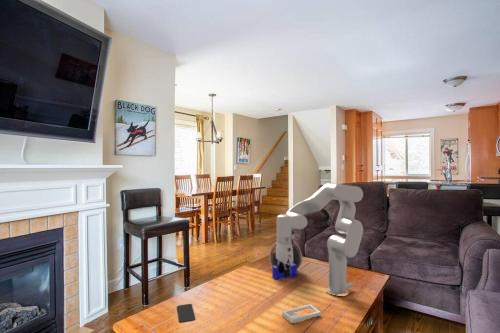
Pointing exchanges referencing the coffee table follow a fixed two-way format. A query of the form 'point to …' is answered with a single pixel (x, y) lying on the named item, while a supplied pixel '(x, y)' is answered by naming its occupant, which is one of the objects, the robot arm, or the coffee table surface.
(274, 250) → the amphora vase
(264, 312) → the coffee table surface
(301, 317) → the tray
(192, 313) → the phone
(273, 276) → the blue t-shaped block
